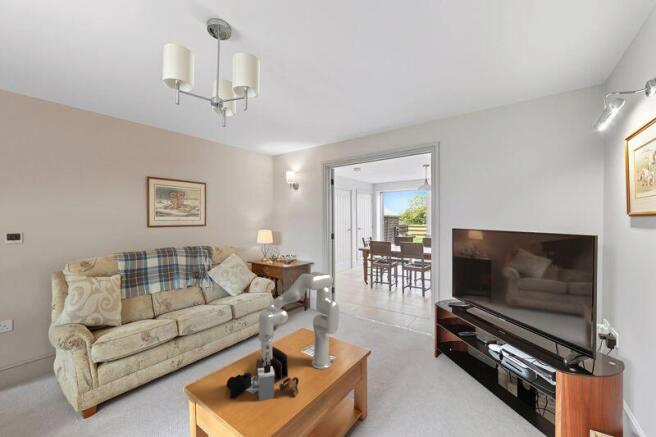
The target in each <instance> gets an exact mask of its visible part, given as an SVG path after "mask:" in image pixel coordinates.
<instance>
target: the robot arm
mask: <svg viewBox="0 0 656 437" xmlns="http://www.w3.org/2000/svg"><path fill="white" fill-rule="evenodd" d="M333 283H334V279H333V276H332V274H330V273H325V272H320V271H313V272H312V271H311V273H302V274H300V275H299V277H298V278H296V280H295V281H294V283H293V284H292V285H291V286H290V287H289V288H288V290H287V291H285V292H283V293H282V294H280V295H279V296H277V297H276V298H274V299H273V301H272V302H270V304H269V305H268V307H267V308H266V311H261V312H260V313H259V315H258V341H260V350H261V351H260V352H261V360H262V364H263V362H265V365H264V373H270V367H271V365H270V359H271V360H272V346H273V341H272V340H273V339H274V326H277V325H279V326H280V325H283V324H285V323H287V321H288V319H289V314H288V311H286V310H284V309H282V307H284V306H286V305H287V304H292V303H296V302H298V301H300V299H301V298H302V297H303V296H304V294H305V293H306V292H307V290H312V291H316V301H315V302H316V303H315V309H316V311H317V312H318V313H319V314H316V315H315V316H314V318H313V319H312V328H313V333H314V334H313V335H314V336H313V338H314V340H313V342H314V343H313V344H314V345H313V346H314V347H313V348H314V350H313V351H314V352H313V353H314V354H313V359H312V361H311V366H312V367H313V368H315V369H318V370H324V369H328V368H330V367H331V365H332V361H334V360H337V357H336V356H333V355H329V354H330V335H334V334H336V333H337V332H338V328H339V319H340V306H339V304H338V302H337V301H335V300H333V299H331V298H330V287H331V286H332V285H333Z"/></svg>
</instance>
